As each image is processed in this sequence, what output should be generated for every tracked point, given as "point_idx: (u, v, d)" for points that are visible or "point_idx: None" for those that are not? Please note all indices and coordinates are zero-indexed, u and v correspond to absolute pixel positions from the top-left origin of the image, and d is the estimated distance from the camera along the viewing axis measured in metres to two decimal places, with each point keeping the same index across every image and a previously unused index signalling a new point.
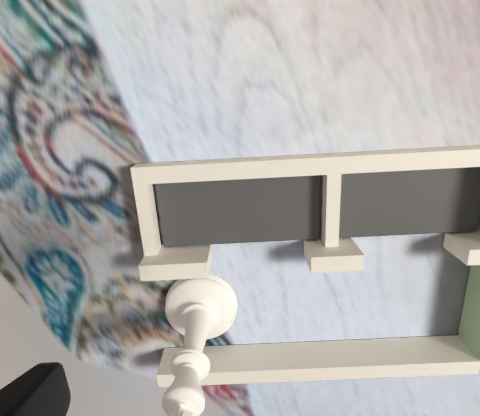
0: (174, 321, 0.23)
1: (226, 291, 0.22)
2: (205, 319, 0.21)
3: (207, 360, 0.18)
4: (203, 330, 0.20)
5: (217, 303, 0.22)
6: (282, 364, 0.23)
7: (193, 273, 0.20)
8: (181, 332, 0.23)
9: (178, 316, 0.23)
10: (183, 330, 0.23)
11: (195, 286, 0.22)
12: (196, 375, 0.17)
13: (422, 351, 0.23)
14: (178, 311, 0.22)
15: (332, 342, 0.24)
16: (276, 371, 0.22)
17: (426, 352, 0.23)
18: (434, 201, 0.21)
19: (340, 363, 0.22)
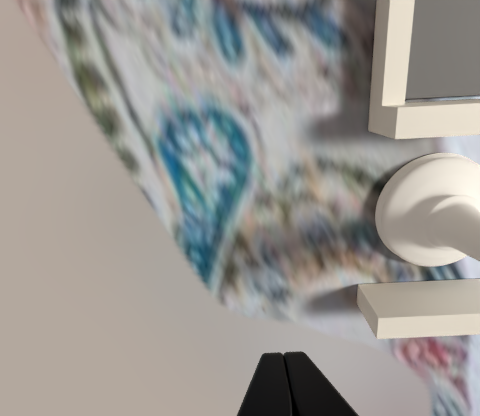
0: (399, 232, 0.14)
1: None
2: None
3: None
4: None
5: None
6: None
7: None
8: (404, 253, 0.14)
9: (411, 222, 0.14)
10: (410, 248, 0.14)
11: (448, 169, 0.13)
12: None
13: None
14: (414, 213, 0.14)
15: None
16: None
17: None
18: None
19: None
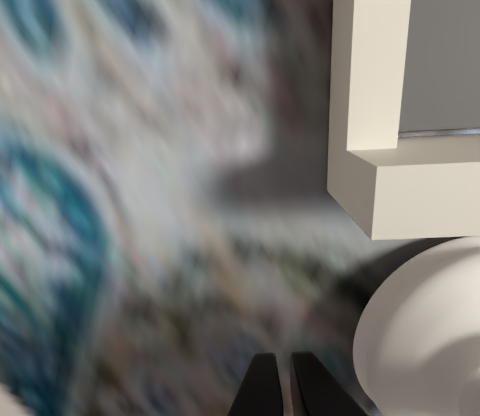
0: (403, 399, 0.07)
1: None
2: None
3: None
4: None
5: None
6: None
7: None
8: None
9: (427, 383, 0.07)
10: None
11: None
12: None
13: None
14: (433, 367, 0.07)
15: None
16: None
17: None
18: None
19: None
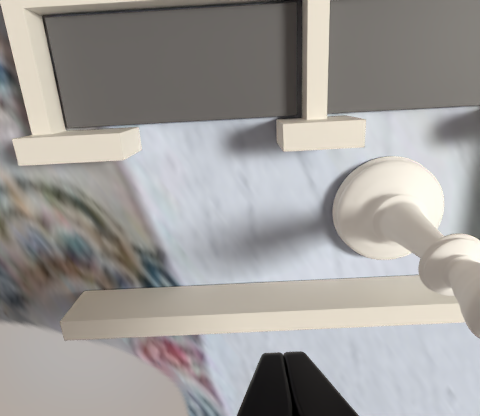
0: (352, 228, 0.15)
1: (437, 182, 0.15)
2: (423, 214, 0.14)
3: None
4: (433, 225, 0.13)
5: (425, 198, 0.15)
6: (245, 307, 0.15)
7: (99, 152, 0.13)
8: (357, 246, 0.16)
9: (362, 219, 0.15)
10: (362, 242, 0.16)
11: (395, 171, 0.15)
12: None
13: None
14: (364, 210, 0.15)
15: (320, 281, 0.17)
16: (235, 315, 0.15)
17: None
18: (473, 51, 0.14)
19: (331, 304, 0.15)
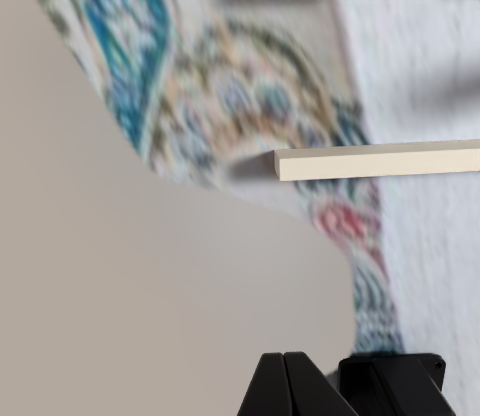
0: None
1: None
2: None
3: None
4: None
5: None
6: (461, 147, 0.15)
7: None
8: None
9: None
10: None
11: None
12: None
13: None
14: None
15: None
16: (457, 151, 0.15)
17: None
18: None
19: None
